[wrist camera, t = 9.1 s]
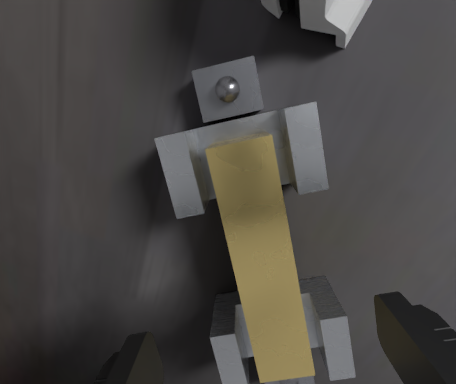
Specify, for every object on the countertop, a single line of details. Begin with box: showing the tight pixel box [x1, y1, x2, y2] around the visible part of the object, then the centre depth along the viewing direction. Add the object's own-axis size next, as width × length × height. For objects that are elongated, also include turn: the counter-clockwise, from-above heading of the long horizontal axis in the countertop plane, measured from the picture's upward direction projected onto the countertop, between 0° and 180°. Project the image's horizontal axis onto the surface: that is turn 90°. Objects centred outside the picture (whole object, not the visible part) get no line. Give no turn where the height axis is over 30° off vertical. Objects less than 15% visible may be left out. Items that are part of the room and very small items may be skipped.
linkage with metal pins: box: [154, 56, 355, 384], centre depth 17 cm, size 7×21×4 cm, turn 13°
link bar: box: [205, 132, 315, 383], centre depth 16 cm, size 3×13×3 cm, turn 13°
